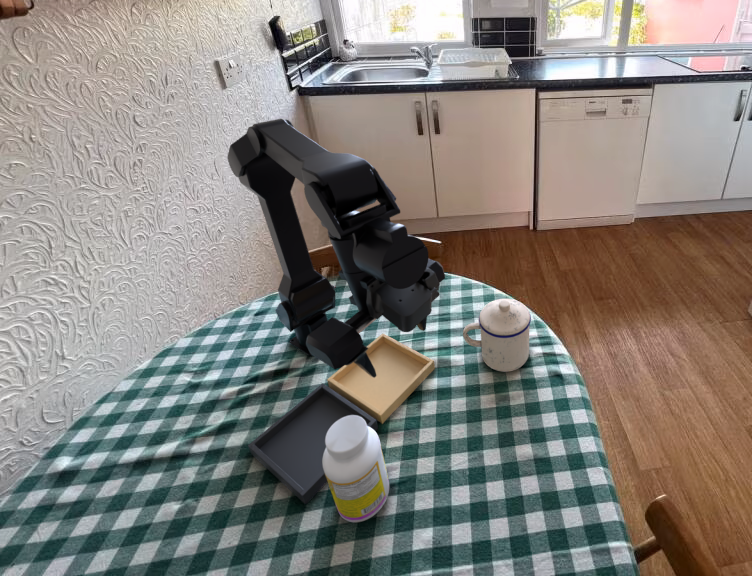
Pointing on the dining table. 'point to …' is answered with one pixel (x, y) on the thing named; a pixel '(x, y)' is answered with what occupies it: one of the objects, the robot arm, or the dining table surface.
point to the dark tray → (304, 441)
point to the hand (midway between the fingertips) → (399, 351)
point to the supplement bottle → (355, 469)
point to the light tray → (382, 377)
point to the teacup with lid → (502, 334)
